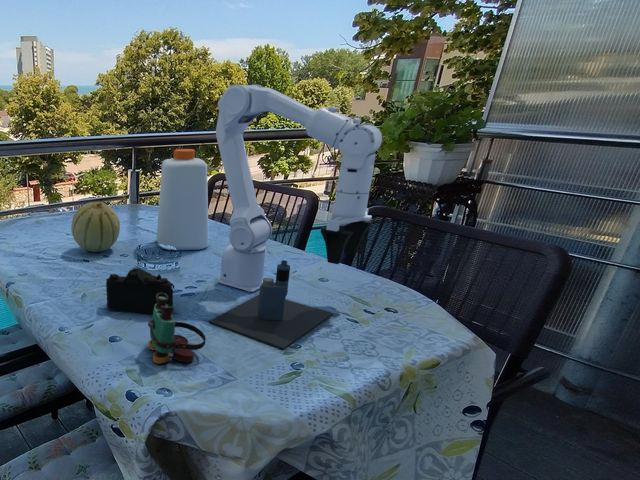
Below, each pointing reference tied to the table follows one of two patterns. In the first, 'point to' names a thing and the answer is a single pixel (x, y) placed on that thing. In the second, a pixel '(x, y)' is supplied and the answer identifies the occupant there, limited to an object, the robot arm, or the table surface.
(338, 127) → the robot arm
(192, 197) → the plastic bottle
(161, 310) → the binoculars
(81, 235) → the cantaloupe
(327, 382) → the table surface
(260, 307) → the vaping device
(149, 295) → the film camera
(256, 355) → the table surface
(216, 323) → the mat
